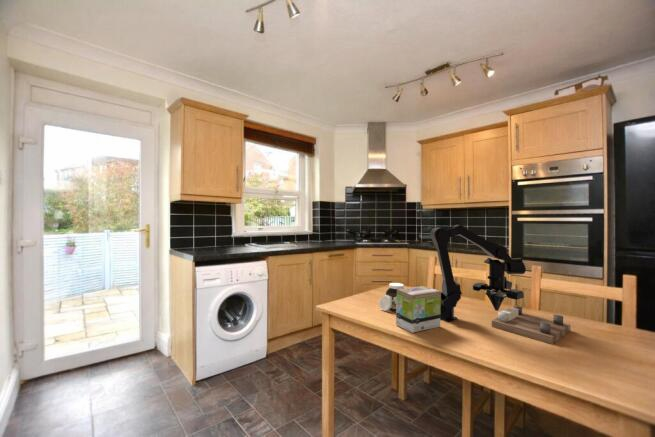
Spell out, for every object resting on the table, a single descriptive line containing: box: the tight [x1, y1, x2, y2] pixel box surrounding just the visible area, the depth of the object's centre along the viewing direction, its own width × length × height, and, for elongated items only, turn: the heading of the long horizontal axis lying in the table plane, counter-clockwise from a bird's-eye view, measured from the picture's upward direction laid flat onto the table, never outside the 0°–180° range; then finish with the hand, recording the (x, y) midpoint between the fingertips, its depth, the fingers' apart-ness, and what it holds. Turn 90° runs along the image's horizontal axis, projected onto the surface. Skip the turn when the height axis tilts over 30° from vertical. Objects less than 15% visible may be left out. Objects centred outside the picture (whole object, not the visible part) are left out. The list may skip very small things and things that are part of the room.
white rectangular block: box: [497, 307, 518, 322], centre depth 118 cm, size 12×4×3 cm, turn 126°
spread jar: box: [378, 282, 405, 312], centre depth 138 cm, size 12×11×12 cm
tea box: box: [395, 285, 442, 334], centre depth 117 cm, size 15×10×15 cm, turn 117°
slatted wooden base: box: [491, 305, 571, 345], centre depth 114 cm, size 20×20×6 cm
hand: (496, 310), depth 124 cm, fingers closed
